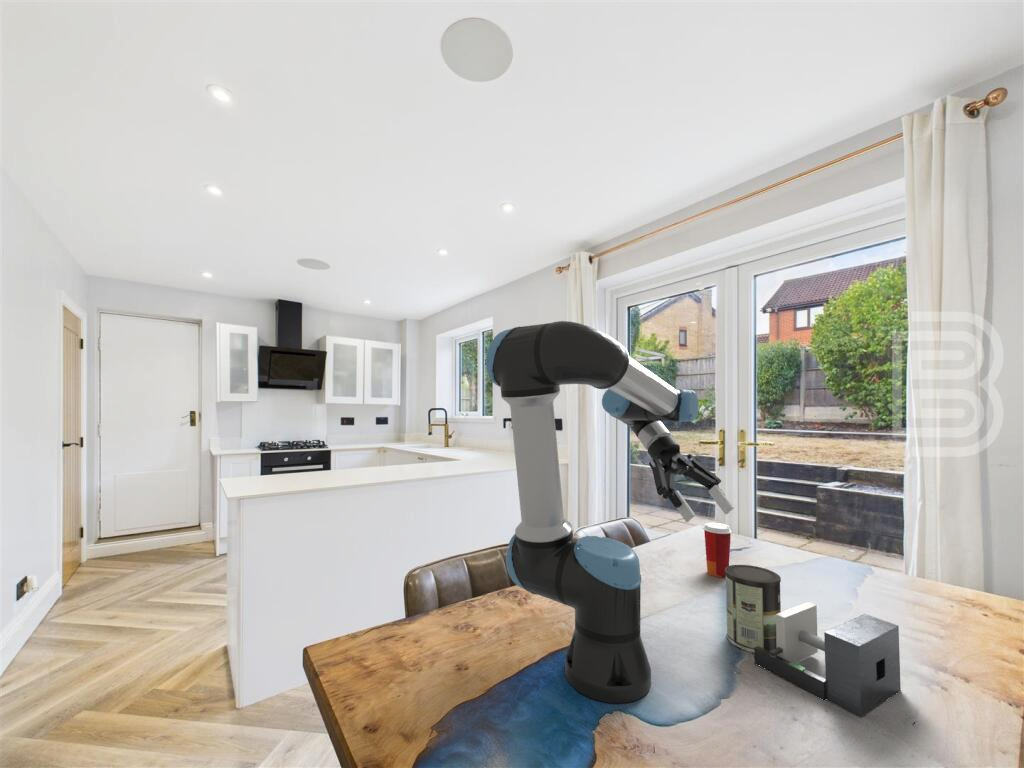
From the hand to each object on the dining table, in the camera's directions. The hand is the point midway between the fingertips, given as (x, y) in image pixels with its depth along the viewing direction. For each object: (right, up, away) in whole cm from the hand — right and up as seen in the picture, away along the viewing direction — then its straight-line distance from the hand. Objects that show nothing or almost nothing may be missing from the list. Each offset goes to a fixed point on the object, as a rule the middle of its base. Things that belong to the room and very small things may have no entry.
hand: (711, 514), depth 102 cm
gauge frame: (+12, -23, -21) cm, 34 cm away
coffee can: (+5, -24, -9) cm, 26 cm away
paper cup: (+15, -26, +28) cm, 41 cm away
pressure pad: (+10, -22, -22) cm, 33 cm away
